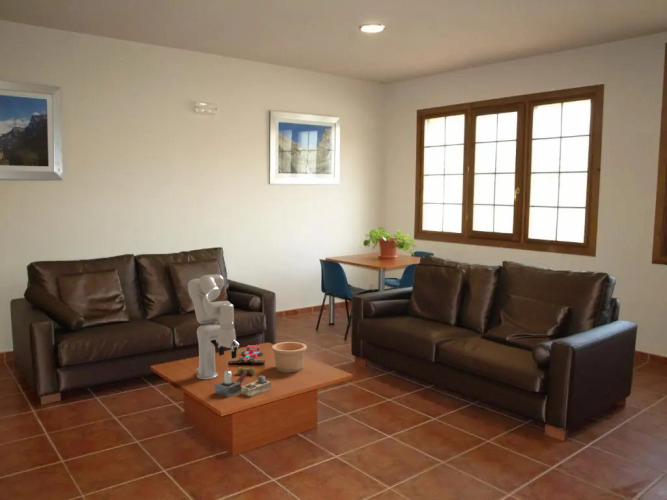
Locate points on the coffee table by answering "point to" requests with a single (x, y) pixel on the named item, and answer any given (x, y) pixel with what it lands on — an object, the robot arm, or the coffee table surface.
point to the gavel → (245, 373)
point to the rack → (256, 387)
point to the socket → (227, 389)
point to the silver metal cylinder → (227, 378)
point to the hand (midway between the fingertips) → (227, 356)
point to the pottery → (289, 356)
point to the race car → (251, 353)
